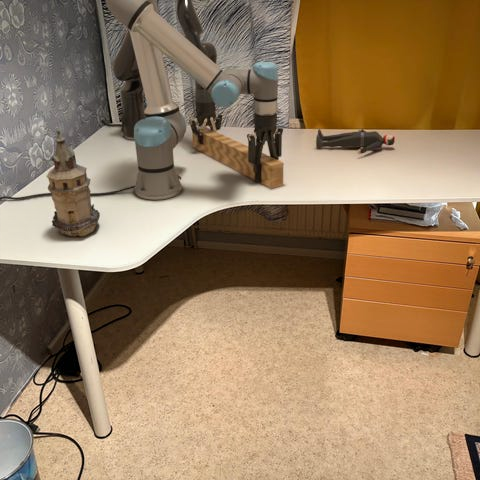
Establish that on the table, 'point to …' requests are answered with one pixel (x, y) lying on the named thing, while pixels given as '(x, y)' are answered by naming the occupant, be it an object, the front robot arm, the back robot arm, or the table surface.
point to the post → (239, 157)
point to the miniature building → (70, 193)
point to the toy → (355, 140)
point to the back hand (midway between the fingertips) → (207, 142)
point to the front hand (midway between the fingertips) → (264, 179)
